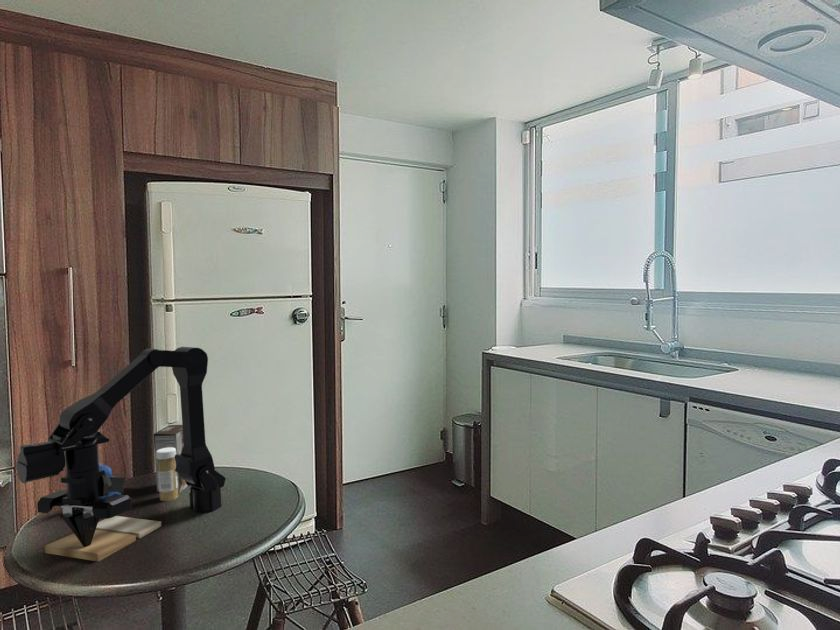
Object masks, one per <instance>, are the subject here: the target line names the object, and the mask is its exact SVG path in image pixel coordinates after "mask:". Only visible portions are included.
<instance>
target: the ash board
mask: <svg viewBox="0 0 840 630" xmlns="http://www.w3.org/2000/svg"><path fill="white" fill-rule="evenodd" d="M160 527H162V521H158V520H153V519H152V520H150V519H143V518H137V517H129V516H119V515H116V516H114V517H112V518H108V519H103V520H99V522H98V524H97V527H96V530H100V531H107V532H114V533H121V534H129V535H136V539H141V538H143V537H145V536H146V535H148V534H150V533H152V532H153V531H156V530H157V529H159V528H160Z"/></svg>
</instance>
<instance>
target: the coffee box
mask: <svg viewBox="0 0 840 630" xmlns="http://www.w3.org/2000/svg"><path fill="white" fill-rule="evenodd" d="M152 436H153V446H154V447H153V448H154V461H155V476H156V477H155V479H156V480H155V481H156V491H157V492H159V484H158V463H157V458H156V451H157V450H159V449H162V448H168V447H173V448H175V449H176V454H181V452H182V449H183V447H184V441H183V426H182V424H169V425H167V426H166V427H163V428H161V429H160V430H158V431H156V432H154V433H153V435H152ZM177 481H178V494H180V493H182V491H184V490H185V489H186V488H188V487H189V486H188V485H187V484H186V482H185V480H183V479H181V478H180V477H179V475H178V472H177Z"/></svg>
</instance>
